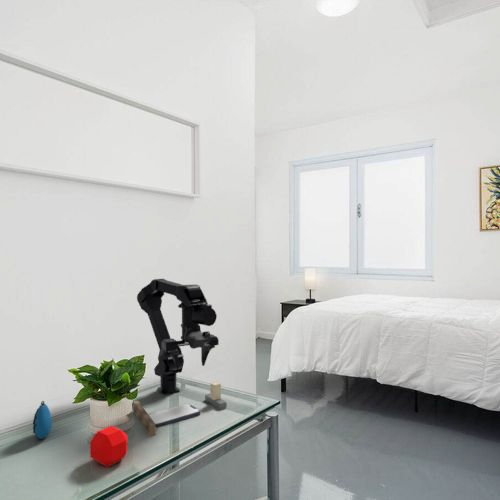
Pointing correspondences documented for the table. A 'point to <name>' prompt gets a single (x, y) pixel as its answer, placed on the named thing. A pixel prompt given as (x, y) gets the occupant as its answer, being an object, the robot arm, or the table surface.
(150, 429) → the walnut bar
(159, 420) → the smartphone
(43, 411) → the ornament
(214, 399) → the scraper
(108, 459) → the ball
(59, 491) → the table surface
